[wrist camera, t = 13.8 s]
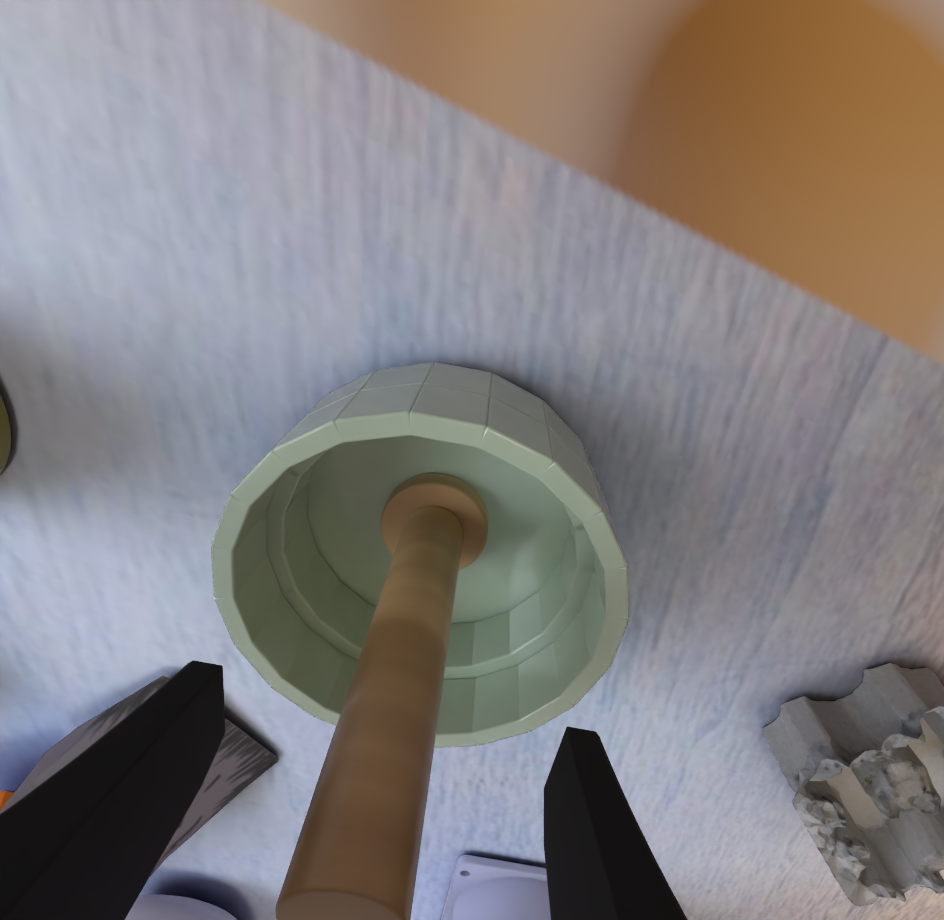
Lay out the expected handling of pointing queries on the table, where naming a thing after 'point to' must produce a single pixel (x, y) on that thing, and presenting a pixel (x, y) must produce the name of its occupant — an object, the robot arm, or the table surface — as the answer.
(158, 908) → the shallow white dish
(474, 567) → the bowl
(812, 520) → the table surface
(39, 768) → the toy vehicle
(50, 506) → the table surface
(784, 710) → the egg carton
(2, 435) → the brass candlestick
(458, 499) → the wooden pestle
